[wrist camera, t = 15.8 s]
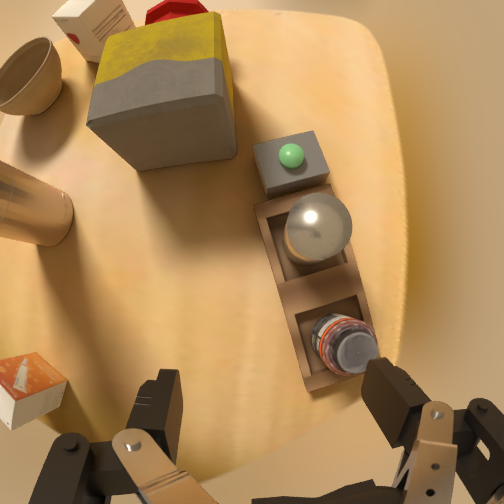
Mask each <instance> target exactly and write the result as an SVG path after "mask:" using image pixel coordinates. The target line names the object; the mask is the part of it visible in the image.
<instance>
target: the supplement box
mask: <svg viewBox="0 0 504 504" xmlns="http://www.w3.org/2000/svg"><path fill="white" fill-rule="evenodd" d="M52 18H53V19H54V20H55V22H56V23H57V24H58V26H59V27H60V28H61V29H62V31H63V32H64V33H65V34H66V36H67V37H68V38H69V40H70V41H71V42H72V43H73V45H74V46H75V47H76V48H77V50H78V51H79V52H80V53H81V55H82V56H83V57H84V59H85V60H87V61H91V62H96V63H100V60H101V56H102V53H103V50H104V46H105V43H106V40H107V38H108V37H109V36H111V35H114V34H117V33H120V32H124V31H127V30H130V29H134V28H136V27H135V25H134V23H133V21H132V19H131V17H130V15H129V13H128V11H127V9H126V7H125V5H124V3H123V1H122V0H69V1H68V2H66V4H64V5H63V6H62V7H61V8H60V9H59V10H58V11H57V12H56V13H55V14H54V15H53V16H52Z"/></svg>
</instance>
